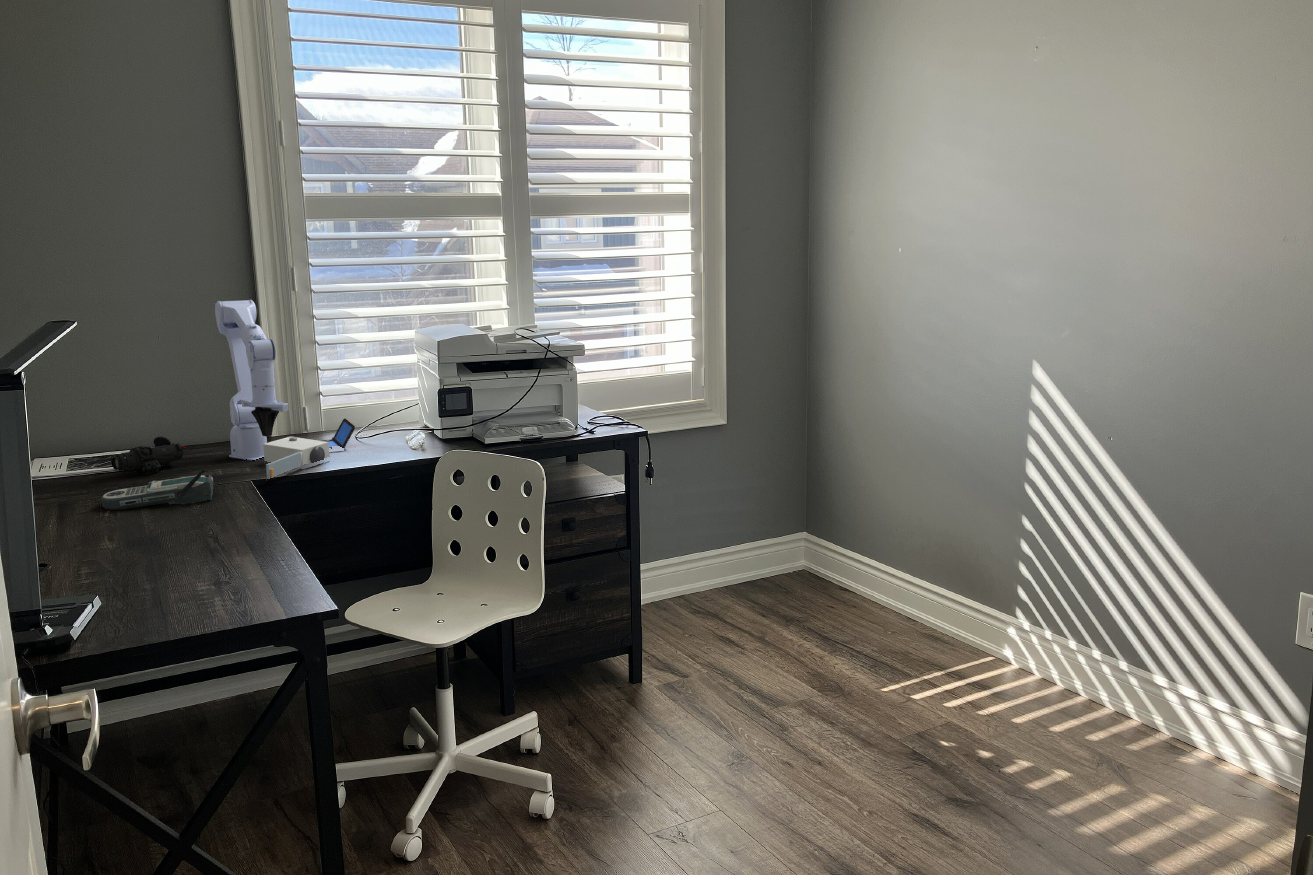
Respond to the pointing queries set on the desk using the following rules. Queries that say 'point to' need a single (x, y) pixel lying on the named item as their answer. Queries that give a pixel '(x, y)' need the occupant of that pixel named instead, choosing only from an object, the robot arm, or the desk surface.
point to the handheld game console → (342, 434)
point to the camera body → (296, 449)
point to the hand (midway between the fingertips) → (267, 435)
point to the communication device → (162, 493)
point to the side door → (284, 465)
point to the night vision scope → (148, 457)
